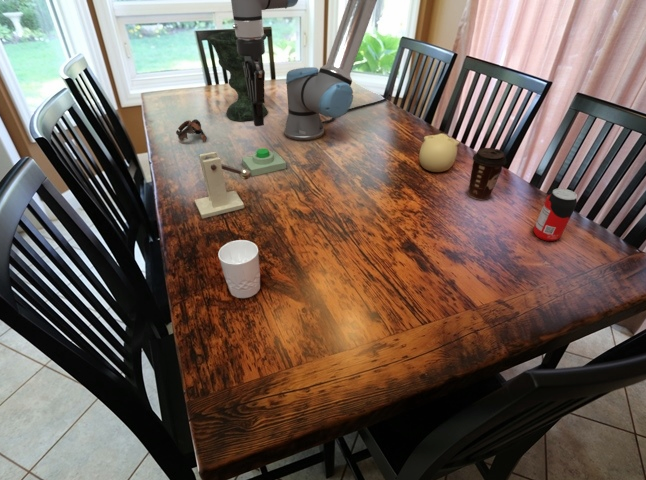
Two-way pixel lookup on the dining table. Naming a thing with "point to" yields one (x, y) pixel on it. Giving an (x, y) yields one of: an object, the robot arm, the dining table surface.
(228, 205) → the switch bracket
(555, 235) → the beverage can
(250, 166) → the button block
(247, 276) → the white cup
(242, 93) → the goblet
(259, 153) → the light button
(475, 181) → the coffee cup
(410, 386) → the dining table surface
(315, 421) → the dining table surface
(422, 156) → the sculpture
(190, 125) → the dark curved strip cluster
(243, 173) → the switch lever
